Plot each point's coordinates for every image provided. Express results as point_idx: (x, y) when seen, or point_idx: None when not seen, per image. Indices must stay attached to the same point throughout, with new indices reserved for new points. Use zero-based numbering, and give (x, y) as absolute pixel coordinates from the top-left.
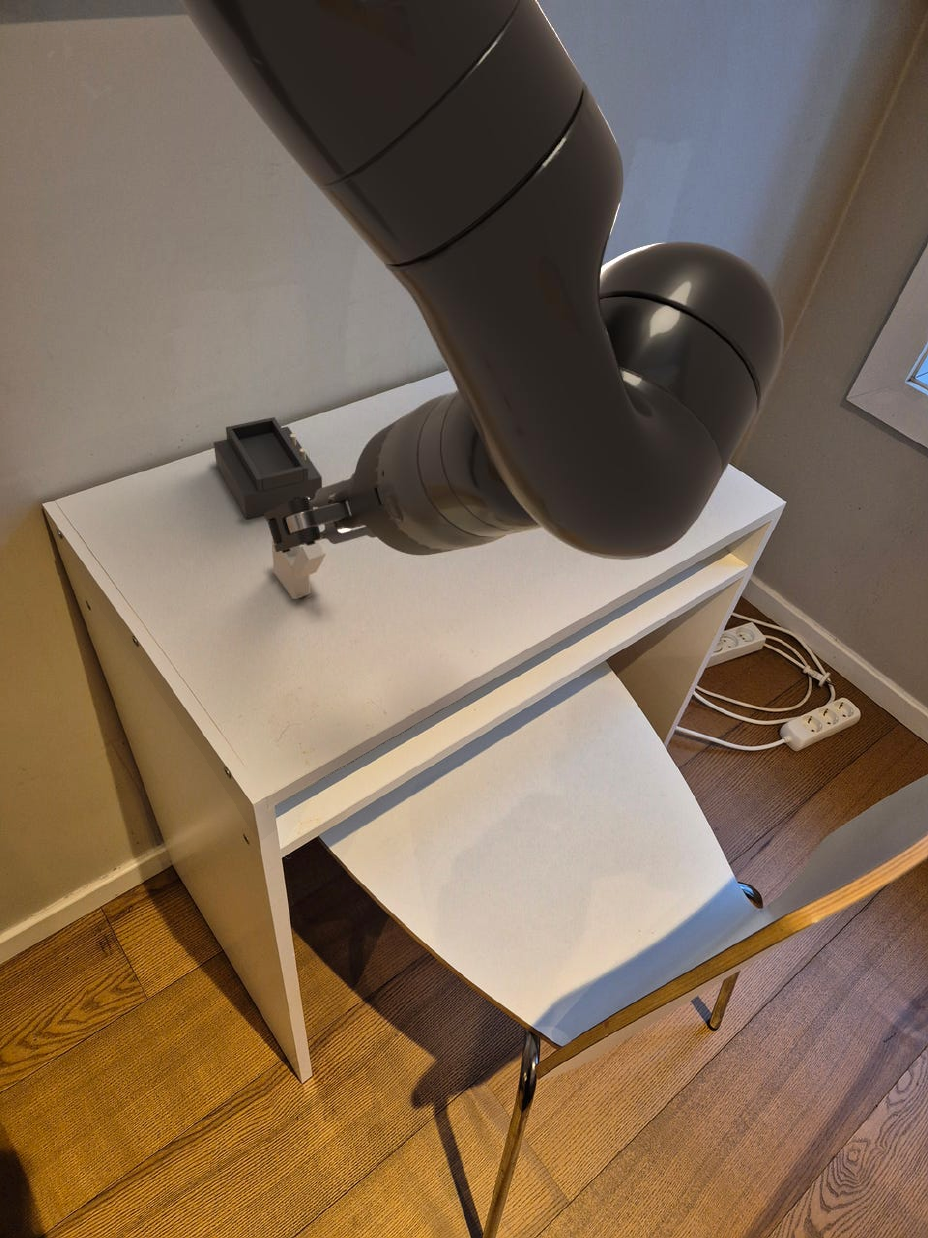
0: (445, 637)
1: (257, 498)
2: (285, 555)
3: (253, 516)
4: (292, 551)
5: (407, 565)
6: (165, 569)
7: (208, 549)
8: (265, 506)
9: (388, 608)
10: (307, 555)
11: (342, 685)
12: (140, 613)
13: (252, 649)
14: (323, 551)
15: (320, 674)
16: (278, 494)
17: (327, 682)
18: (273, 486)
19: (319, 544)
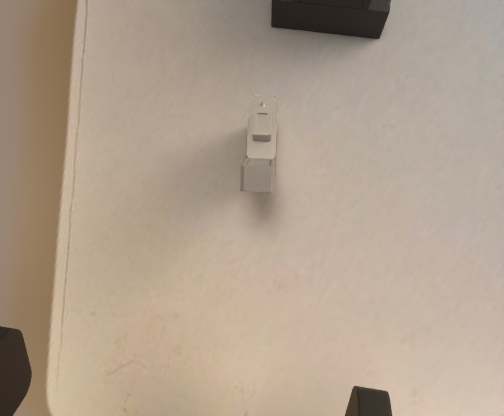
0: (394, 348)
1: (289, 8)
2: (249, 135)
3: (281, 26)
4: (257, 137)
5: (420, 201)
6: (143, 58)
7: (203, 51)
8: (298, 21)
9: (351, 257)
10: (244, 183)
11: (223, 342)
12: (83, 108)
13: (161, 226)
14: (272, 186)
15: (210, 309)
16: (319, 13)
17: (210, 326)
18: (315, 1)
19: (272, 173)
